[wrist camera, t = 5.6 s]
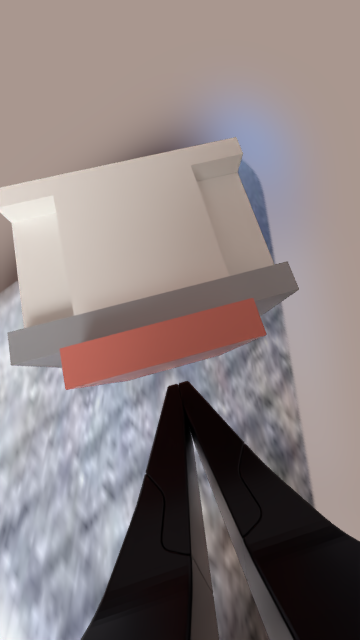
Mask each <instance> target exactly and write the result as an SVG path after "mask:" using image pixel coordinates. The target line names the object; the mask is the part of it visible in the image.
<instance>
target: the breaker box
mask: <svg viewBox="0 0 360 640" xmlns="http://www.w3.org/2000/svg"><path fill="white" fill-rule="evenodd" d="M242 155H243V152H242V150H241V148H240V145H239V143H238V140H237V138H236V137H235V138H230V139H225V140H220V141H216V142H211V143H206V144H202V145H197V146H192V147H188V148H183V149H178V150H173V151H169V152H164V153H160V154H155V155H150V156H146V157H141V158H136V159H131V160H127V161H122V162H117V163H113V164H108V165H103V166H99V167H94V168H89V169H85V170H80V171H75V172H71V173H66V174H61V175H57V176H52V177H48V178H43V179H38V180H34V181H29V182H24V183H20V184H15V185H10V186H5V187H1V188H0V213H1V214H2V215H4V216H5V217H6V218H7V219H8V220H9V221H10V222H11V223H12V229H13V238H14V246H15V255H16V263H17V272H18V280H19V289H20V297H21V305H22V314H23V322H24V329H20V330H16V331H12V332H8V340H9V350H10V360H11V365H14V366H36V367H57V368H62V362H61V356H60V348H64V347H67V346H71V345H75V344H79V343H83V342H86V341H90V340H94V339H98V338H102V337H106V336H109V335H113V334H117V333H121V332H125V331H128V330H132V329H136V328H140V327H144V326H147V325H151V324H155V323H159V322H163V321H166V320H170V319H174V318H178V317H182V316H185V315H189V314H193V313H197V312H201V311H204V310H208V309H212V308H216V307H220V306H224V305H227V304H231V303H235V302H239V301H243V300H246V299H250V298H254V301H255V304H256V307H257V310H258V312H259V315H260V316H262V315H263V314H265V313H266V312H267V311H269V310H270V309H272V308H273V307H275V306H276V305H277V304H279V303H280V302H282V301H283V300H284V299H286V298H287V297H289V296H290V295H292V294H293V293H295V292H296V291H297V290H299V288H298V285H297V283H296V281H295V278H294V276H293V274H292V271H291V269H290V266H289V264H288V262H283V263H279V264H275V265H274V263H273V260H272V258H271V255H270V253H269V250H268V248H267V245H266V243H265V240H264V237H263V235H262V232H261V230H260V227H259V225H258V222H257V220H256V217H255V215H254V212H253V210H252V207H251V205H250V202H249V200H248V197H247V195H246V192H245V190H244V187H243V185H242V182H241V180H240V177H239V175H238V169H239V166H240V162H241V159H242Z"/></svg>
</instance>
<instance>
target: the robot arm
mask: <svg viewBox="0 0 360 640" xmlns="http://www.w3.org/2000/svg"><path fill="white" fill-rule="evenodd" d="M189 427H190V428H189ZM191 435H192V436H191ZM192 438H193V441H194V444H195V446H196V449H197V452H198V454H199V457H200V460H201V462H202V465H203V467H204V470H205V473H206V475H207V478H208V480H209V483H210V486H211V488H212V491H213V493H214V496H215V499H216V501H217V504H218V507H219V509H220V512H221V514H222V517H223V520H224V522H225V525H226V527H227V530H228V533H229V535H230V538H231V540H232V543H233V546H234V548H235V551H236V553H237V556H238V559H239V561H240V564H241V567H242V569H243V572H244V574H245V577H246V580H247V581H248V585H249V587H250V590H251V593H252V595H253V598H254V600H255V603H256V606H257V608H258V611H259V614H260V616H261V619H262V621H263V624H264V627H265V629H266V632H267V634H268V637H269V640H360V541H358V540H356V539H354V538H353V537H351V536H349V535H348V534H346V533H345V532H343V531H342V530H340V529H339V528H338V527H336V526H335V525H334V524H332V523H331V522H330V521H328V520H327V519H326V518H325V517H324V516H322V515H321V514H320V513H319V512H318V511H317V510H316V509H314V508H313V507H312V506H311V505H310V504H309V503H308V502H306V501H305V500H304V499H303V498H302V497H301V496H300V495H298V494H297V493H296V492H295V491H294V490H293V489H292V488H291V487H289V486H288V485H287V484H286V483H285V482H284V481H283V480H281V479H280V478H279V477H278V476H277V475H276V474H275V473H274V472H273V471H272V470H271V469H270V468H268V467H267V466H266V465H265V464H264V463H263V462H262V461H261V460H260V458H259V457H258V456H257V455H256V454H255V453H254V452H253V451H252V450H251V449H250V448H249V447H248V446H247V445H246V444H244V442H243V440H242V439H241V438H240V437H239V436H238V435H237V434H236V433H235V432H234V431H233V429H232V428H231V427H230V426H229V425H228V424H227V423H226V422H225V421H224V420H223V419H222V417H221V416H220V415H219V414H218V413H217V412H216V411H215V410H214V409H213V408H212V406H211V405H210V404H209V403H208V402H207V401H206V400H205V399H204V398H203V397H202V396H201V394H200V393H199V392H198V391H197V390H196V389H195V388H194V387H193V386H192V385H191V384H190V382H188V381H185V382H182V383H179V386H178V384H175V385H171V386H169V387H168V388H167V392H166V396H165V400H164V404H163V408H162V411H161V415H160V419H159V423H158V427H157V430H156V434H155V438H154V442H153V446H152V450H151V453H150V457H149V461H148V465H147V469H146V474H145V476H144V480H143V484H142V487H141V491H140V494H139V498H138V501H137V505H136V508H135V511H134V514H133V516H132V519H131V522H130V525H129V528H128V531H127V534H126V536H125V539H124V542H123V544H122V547H121V550H120V553H119V555H118V558H117V561H116V563H115V566H114V569H113V572H112V574H111V577H110V580H109V582H108V585H107V588H106V590H105V593H104V595H103V597H102V600H101V602H100V604H99V607H98V609H97V611H96V613H95V615H94V617H93V619H92V621H91V623H90V624H89V626H88V628H87V630H86V631H85V633H84V635H83V637H82V638H81V640H219V634H218V627H217V619H216V612H215V604H214V597H213V589H212V582H211V574H210V567H209V560H208V552H207V545H206V537H205V530H204V522H203V515H202V507H201V500H200V492H199V485H198V477H197V470H196V462H195V455H194V448H193V441H192Z"/></svg>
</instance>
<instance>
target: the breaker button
mask: <svg viewBox="0 0 360 640" xmlns="http://www.w3.org/2000/svg"><path fill="white" fill-rule="evenodd" d="M265 335H267V334H266V332H265V329H264V326H263V323H262V321H261V318H260V315H259V312H258V310H257V307H256V304H255V301H254V298H250V299H246V300H243V301H239V302H235V303H231V304H227V305H224V306H220V307H216V308H212V309H208V310H204V311H201V312H197V313H193V314H189V315H185V316H182V317H178V318H174V319H170V320H166V321H163V322H159V323H155V324H151V325H147V326H144V327H140V328H136V329H132V330H128V331H125V332H121V333H117V334H113V335H109V336H106V337H102V338H98V339H94V340H90V341H86V342H83V343H79V344H75V345H71V346H67V347H64V348H60V356H61V362H62V369H63V376H64V382H65V389H66V390H69V389H75V388H82V387H89V386H96V385H102V384H109V383H116V382H123V381H128V380H132V379H136V378H139V377H143V376H146V375H150V374H154V373H157V372H161V371H164V370H168V369H172V368H175V367H179V366H183V365H186V364H190V363H193V362H197V361H201V360H204V359H208V358H211V357H215V356H219V355H222V354H224V353H226V352H228V351H231V350H233V349H235V348H237V347H240V346H242V345H244V344H247V343H249V342H251V341H253V340H256V339H258V338H260V337H263V336H265Z"/></svg>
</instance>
